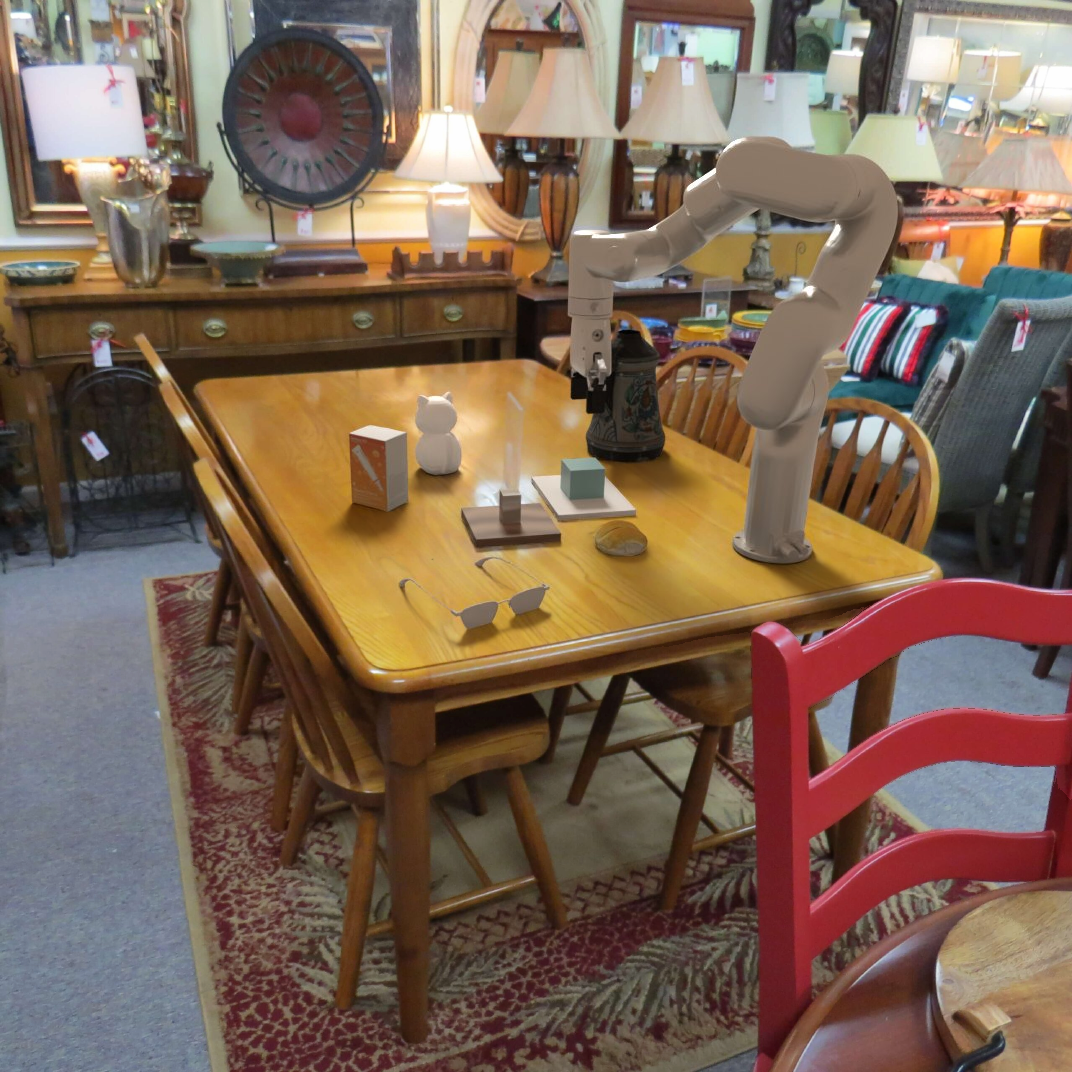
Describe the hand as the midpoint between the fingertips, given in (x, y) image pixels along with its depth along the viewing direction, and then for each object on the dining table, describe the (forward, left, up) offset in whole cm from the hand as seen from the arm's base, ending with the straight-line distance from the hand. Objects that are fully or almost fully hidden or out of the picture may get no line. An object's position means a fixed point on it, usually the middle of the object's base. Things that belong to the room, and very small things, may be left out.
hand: (587, 405), depth 172 cm
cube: (0, 0, -16) cm, 16 cm away
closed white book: (0, 0, -17) cm, 17 cm away
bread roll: (-22, 0, -18) cm, 28 cm away
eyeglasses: (-35, +27, -18) cm, 48 cm away
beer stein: (+24, -16, -18) cm, 34 cm away
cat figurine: (+19, +23, -18) cm, 35 cm away
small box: (+4, +36, -18) cm, 40 cm away
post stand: (-12, +16, -17) cm, 27 cm away
